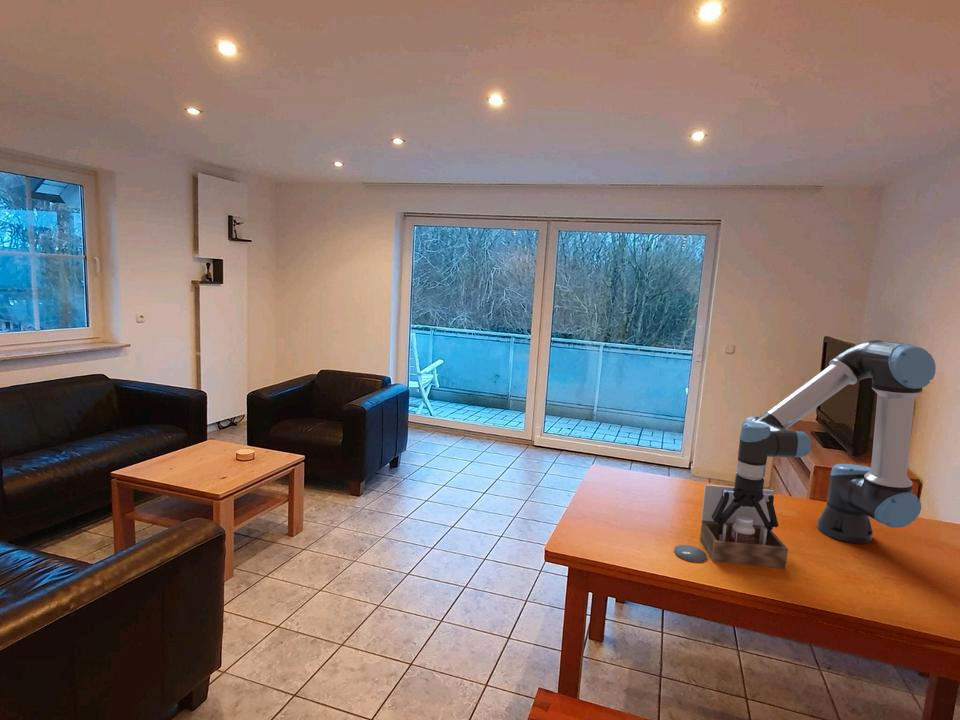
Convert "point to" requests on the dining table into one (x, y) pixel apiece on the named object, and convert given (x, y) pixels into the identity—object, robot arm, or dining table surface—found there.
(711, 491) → the frame lid
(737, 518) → the pill bottle
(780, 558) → the box
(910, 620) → the dining table surface
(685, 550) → the grey round disc
